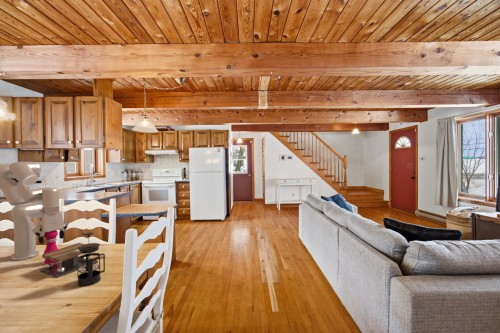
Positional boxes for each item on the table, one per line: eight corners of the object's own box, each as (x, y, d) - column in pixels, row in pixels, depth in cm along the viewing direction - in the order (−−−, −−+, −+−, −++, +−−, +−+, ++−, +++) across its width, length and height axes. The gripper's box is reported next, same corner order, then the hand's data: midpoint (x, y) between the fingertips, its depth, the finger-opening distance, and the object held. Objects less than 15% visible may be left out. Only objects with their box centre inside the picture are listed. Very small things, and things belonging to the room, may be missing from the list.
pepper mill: (50, 265, 133) (49, 229, 132) (39, 264, 134) (39, 228, 134) (62, 260, 140) (62, 225, 139) (52, 259, 141) (52, 225, 141)
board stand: (39, 271, 125) (39, 259, 125) (80, 257, 143) (80, 246, 143) (57, 277, 118) (56, 264, 118) (97, 262, 137) (97, 251, 136)
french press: (76, 289, 108) (75, 237, 108) (74, 281, 115) (73, 233, 115) (106, 280, 116) (106, 232, 115) (102, 273, 123) (102, 228, 122)
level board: (42, 257, 126) (42, 252, 126) (79, 245, 142) (78, 241, 142) (58, 262, 119) (58, 257, 119) (95, 249, 136) (95, 244, 136)
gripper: (35, 213, 127) (36, 246, 127) (71, 208, 143) (72, 237, 143) (28, 212, 130) (29, 244, 130) (64, 207, 146) (65, 235, 146)
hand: (51, 240), depth 136 cm, fingers open, 9 cm apart
